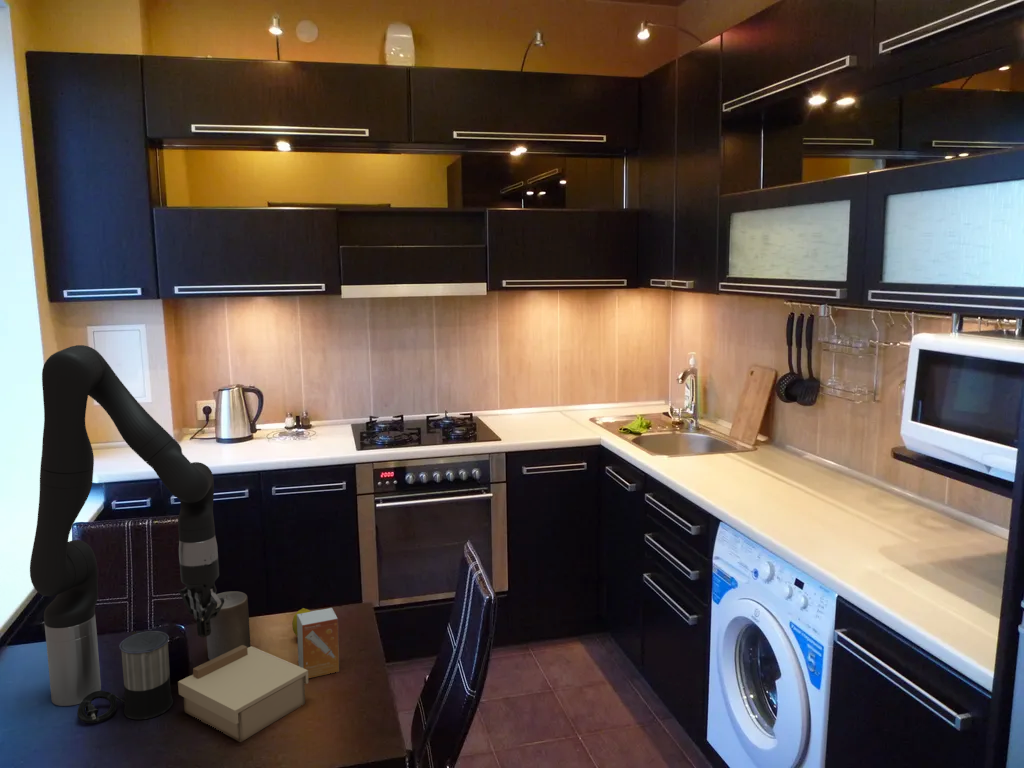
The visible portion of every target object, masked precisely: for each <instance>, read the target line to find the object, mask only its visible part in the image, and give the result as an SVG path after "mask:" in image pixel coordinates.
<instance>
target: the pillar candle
mask: <svg viewBox="0 0 1024 768" xmlns="http://www.w3.org/2000/svg"><path fill="white" fill-rule="evenodd" d="M216 595H217V596H218V598H219V599H220V598H223V599H224V604H223V606H222V608H221V609H220V611H219V613H218V615H217V617H215V618H212V619H210V624H211V634H210V635H208V636H206V647H207V648H206V649H207V658H208V661H210V660H212V659H214V658H216V657H218V656H220V655H222V654H225V653H227V652H229V651H231V650H233V649H235V648H237V647H239V646H241V645H244V646H246V647H247V648H249V647H251V634H250V633H251V632H250V631H251V630H250V616H249V602H248V595H247V594H246V593H245V592H242V591H237V590H236V591H235V590H234V591H224V592H220V593H216Z"/></svg>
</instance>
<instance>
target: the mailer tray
mask: <svg viewBox="0 0 1024 768" xmlns="http://www.w3.org/2000/svg"><path fill="white" fill-rule="evenodd" d="M305 687H306V685H305V683H304V676H303V677H302V678H300V679H298V680H296V681H294V682H293V683H291V684H289V685H287V686H285V687H284V688H282V689H280V690H278V691H277V692H275V693H273V694H271V695H269V696H268V697H266V698H264V699H262V700H260V701H259V702H257V703H255V704H253V705H252V706H250V707H248V708H246V709H244V710H243V711H241V712H239V713H238V722H239V723H237V724H234V723H232V722H230V721H229V720H227V719H225V718H223V717H221V716H219V715H217V714H215V713H213V712H211V711H209V710H208V709H206V708H204V707H202V706H200V705H198V704H196V703H194V702H192V701H190V700H188V699H187V698H185V697H183V706H184V707H183V709H184V713H185V714H188V715H189V716H190V717H192V718H194V717H195V718H194V719H196V718H197V719H196V720H198V719H199V720H198V721H200V720H201V721H200V722H202V723H203V724H205V725H207V724H208V726H209V725H210V726H209V727H211V726H212V728H213V727H214V728H213V729H215V728H216V729H215V730H217V731H218V730H219V732H220V731H221V733H222V732H223V733H222V734H225V735H226V736H228V737H229V738H231V739H233V740H235V741H237V742H239V743H242V742H243V741H245V740H246V739H249V738H250V737H251V736H253V735H256V734H257V733H259V732H260V731H262V730H263V729H266V728H267V727H268V726H270V725H272V724H273V723H275V722H277V721H278V720H280V719H282V718H284V717H286V715H289V714H291V713H292V712H293V711H295V710H297V709H299V708H300V707H302V706H303V705H305V704H306V694H305V693H306V690H305V689H306V688H305ZM301 705H302V706H301Z"/></svg>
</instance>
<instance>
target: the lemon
mask: <svg viewBox="0 0 1024 768" xmlns="http://www.w3.org/2000/svg"><path fill="white" fill-rule="evenodd" d="M311 611H312V610H310V609H308V608H304V607H302V608H301V609H299V610H298V611H296V613H294V615H293V618H292V626H291V628H292V632H293V633H294V635H295V636H296V637H298V634H297V614H301V613H306V612H311Z"/></svg>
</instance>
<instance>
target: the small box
mask: <svg viewBox="0 0 1024 768" xmlns="http://www.w3.org/2000/svg"><path fill="white" fill-rule="evenodd" d="M310 611H311V612H306V613H301V614H297V634H298V636H297V657H298V661H297V662H298V666H299V667H302V668H304V669H306V670H308V679H311V678H316V677H320V676H325V675H329V674H330V673H331V674H335V672H336V673H339V672H340V652H339V650H340V649H339V648H340V647H339V618H338V617H337V615H336V612H335V611H334V609H333V607H329V608H328V607H327V608H324V609H323V608H322V609H316V610H310Z"/></svg>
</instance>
